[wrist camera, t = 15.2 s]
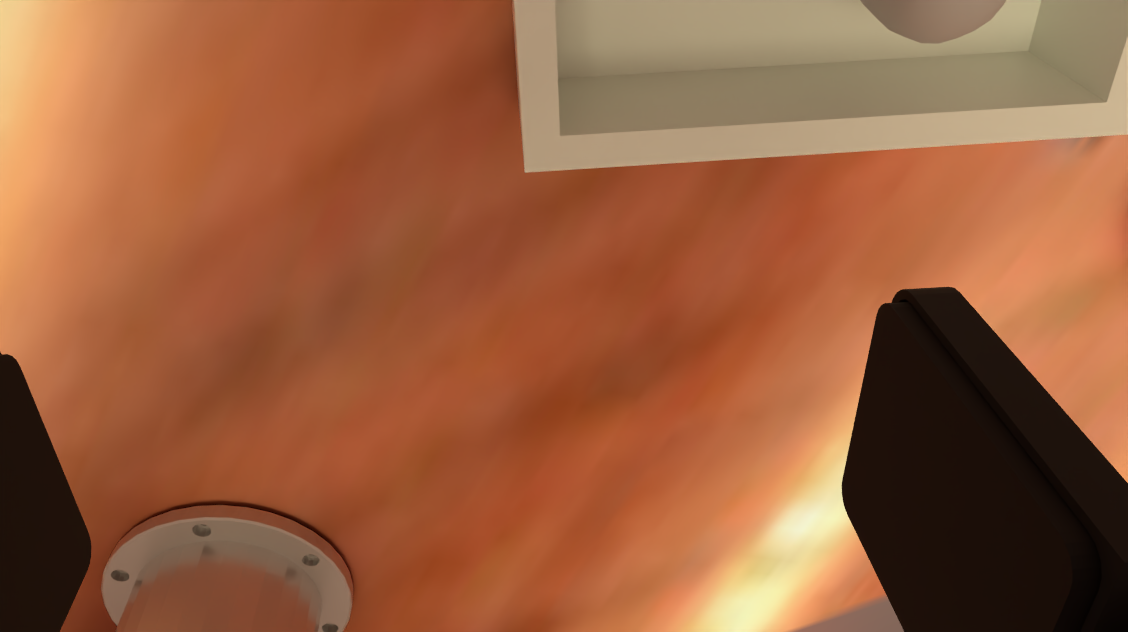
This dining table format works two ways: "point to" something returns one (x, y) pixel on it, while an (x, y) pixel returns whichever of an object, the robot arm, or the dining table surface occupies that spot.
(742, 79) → the bin
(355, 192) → the dining table surface
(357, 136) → the dining table surface
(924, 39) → the donut
